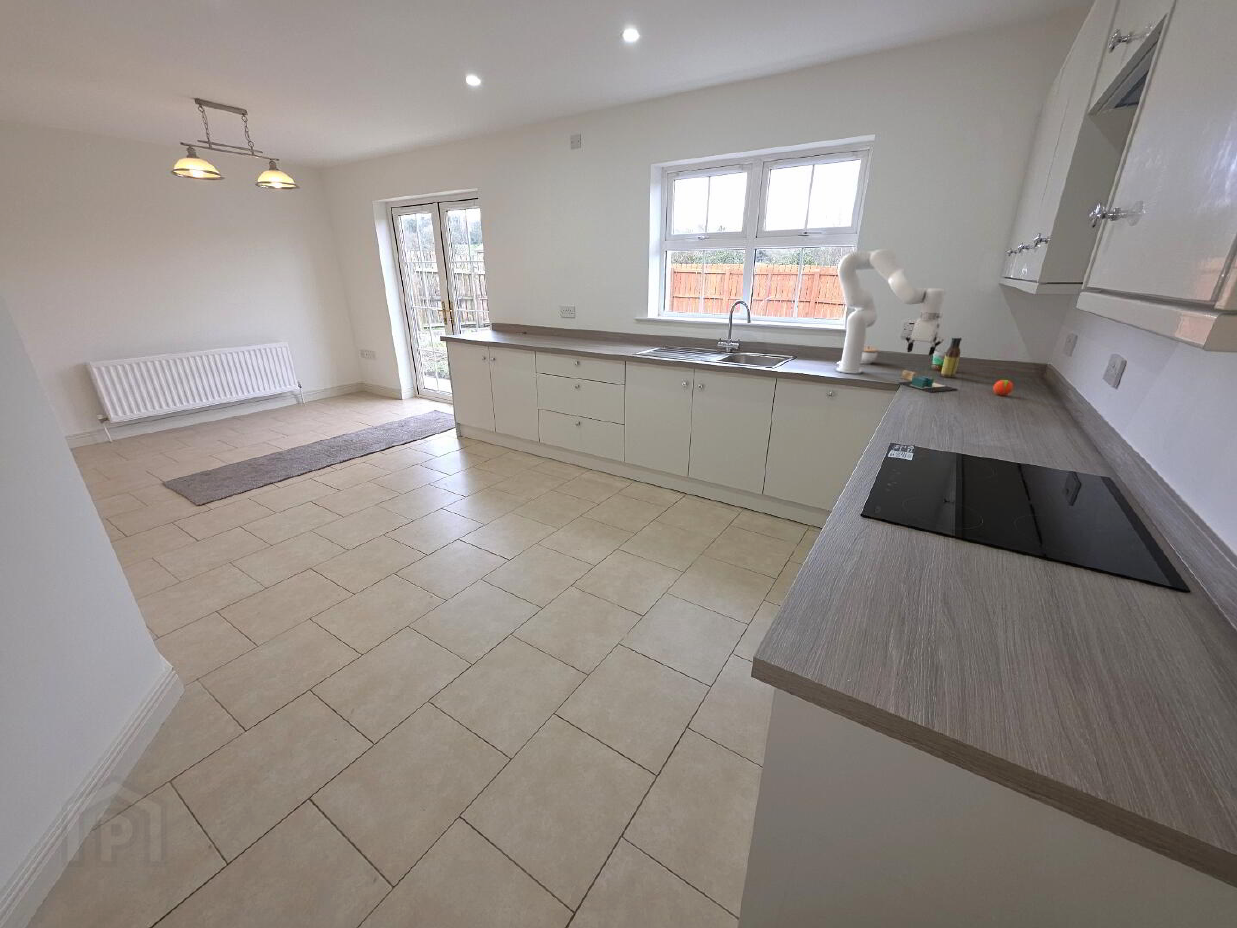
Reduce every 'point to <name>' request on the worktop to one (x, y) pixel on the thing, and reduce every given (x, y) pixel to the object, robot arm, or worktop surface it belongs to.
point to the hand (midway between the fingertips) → (919, 353)
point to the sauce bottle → (951, 358)
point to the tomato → (1003, 387)
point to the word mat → (932, 389)
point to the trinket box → (869, 355)
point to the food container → (938, 360)
